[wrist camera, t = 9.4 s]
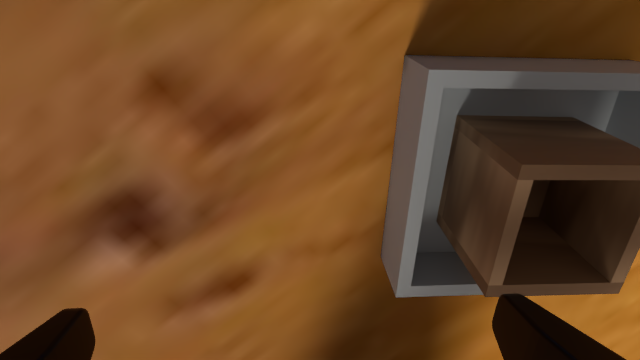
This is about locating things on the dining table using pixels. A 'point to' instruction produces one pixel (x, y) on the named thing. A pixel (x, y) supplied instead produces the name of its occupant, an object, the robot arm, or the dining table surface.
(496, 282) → the walnut crate
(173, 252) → the dining table surface
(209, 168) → the dining table surface
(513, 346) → the robot arm
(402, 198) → the grey crate
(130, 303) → the dining table surface
